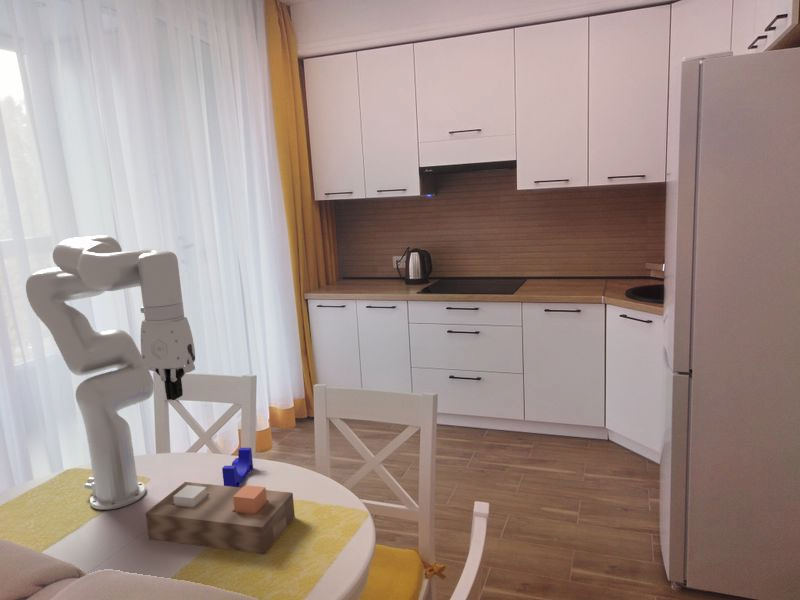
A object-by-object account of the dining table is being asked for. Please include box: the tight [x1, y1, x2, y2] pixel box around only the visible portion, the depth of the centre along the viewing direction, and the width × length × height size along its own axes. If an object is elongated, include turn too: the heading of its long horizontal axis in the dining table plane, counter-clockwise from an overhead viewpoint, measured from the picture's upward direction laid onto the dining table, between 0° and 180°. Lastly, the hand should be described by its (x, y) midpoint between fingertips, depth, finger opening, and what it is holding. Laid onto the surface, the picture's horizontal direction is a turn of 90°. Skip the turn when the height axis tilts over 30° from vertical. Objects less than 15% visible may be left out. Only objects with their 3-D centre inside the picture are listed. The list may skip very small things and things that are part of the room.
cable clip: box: [221, 447, 254, 487], centre depth 153 cm, size 12×4×6 cm, turn 173°
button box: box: [144, 481, 296, 555], centre depth 130 cm, size 28×14×6 cm, turn 74°
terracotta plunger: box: [233, 484, 267, 515], centre depth 128 cm, size 5×5×8 cm
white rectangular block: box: [173, 485, 207, 508], centre depth 132 cm, size 5×5×8 cm
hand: (174, 397), depth 124 cm, fingers closed
